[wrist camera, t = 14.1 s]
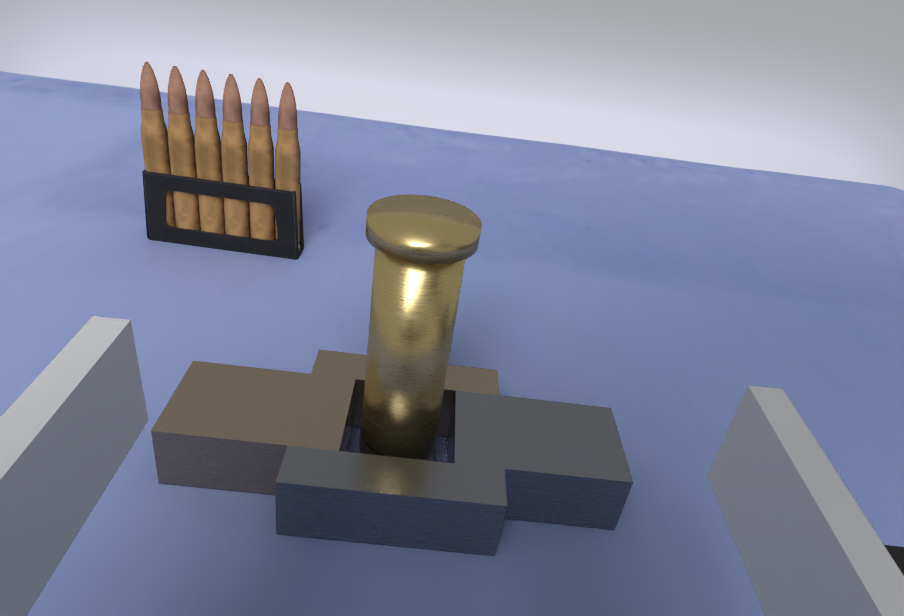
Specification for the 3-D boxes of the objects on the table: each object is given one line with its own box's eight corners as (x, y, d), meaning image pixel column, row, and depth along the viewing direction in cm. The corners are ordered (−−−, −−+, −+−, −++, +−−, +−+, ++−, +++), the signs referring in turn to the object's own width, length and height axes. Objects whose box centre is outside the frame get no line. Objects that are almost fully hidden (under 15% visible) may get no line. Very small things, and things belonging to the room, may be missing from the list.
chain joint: (589, 426, 35) (603, 382, 33) (623, 568, 27) (644, 520, 26) (211, 384, 34) (207, 336, 32) (139, 520, 26) (129, 466, 24)
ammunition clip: (146, 239, 46) (124, 62, 39) (158, 228, 47) (138, 56, 41) (297, 260, 46) (299, 87, 40) (304, 248, 48) (306, 81, 41)
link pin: (440, 440, 32) (480, 202, 26) (437, 507, 29) (483, 250, 22) (356, 431, 32) (374, 188, 25) (342, 497, 28) (359, 234, 22)
